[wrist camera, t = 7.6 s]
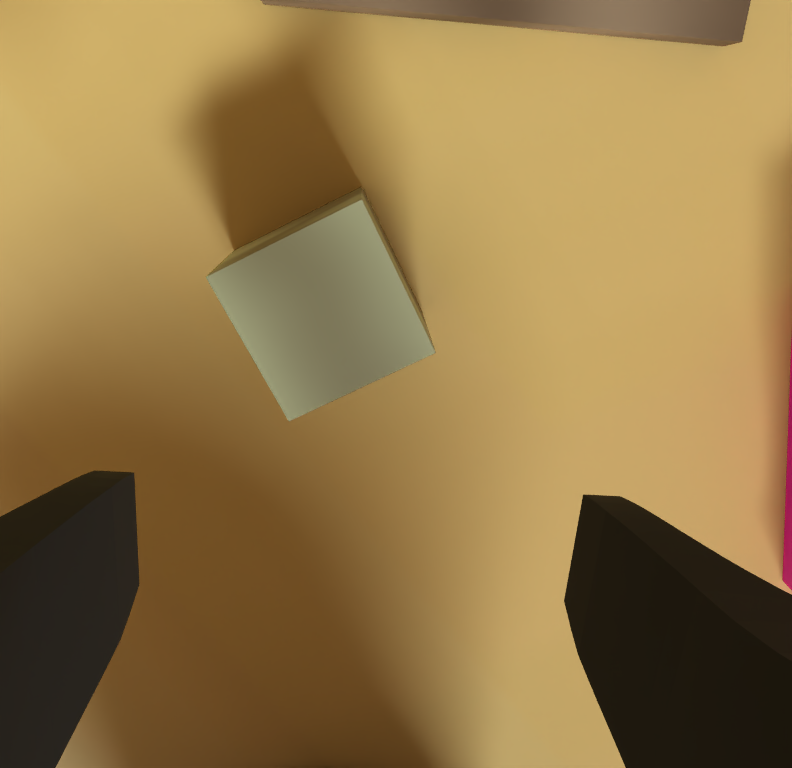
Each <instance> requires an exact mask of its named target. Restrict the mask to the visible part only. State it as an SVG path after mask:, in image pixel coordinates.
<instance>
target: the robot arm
mask: <svg viewBox="0 0 792 768" xmlns="http://www.w3.org/2000/svg"><path fill="white" fill-rule="evenodd" d="M138 587H139V568H138V546H137V524H136V503H135V481H134V473H131V472H110V471H93V472H90V473H87V474H84V475H82V476H80V477H78V478H76V479H73V480H71V481H69V482H67V483H65V484H63V485H61V486H59V487H57V488H55V489H53V490H51V491H50V492H48V493H46V494H44V495H42V496H40V497H38V498H36V499H34V500H32V501H30V502H28V503H26V504H24V505H22V506H20V507H18V508H17V509H15V510H13V511H11V512H9V513H7V514H5V515H3V516H1V517H0V768H55V767H56V765H57V763H58V761H59V759H60V758H61V756H62V754H63V752H64V750H65V748H66V746H67V744H68V742H69V740H70V738H71V736H72V734H73V732H74V730H75V728H76V726H77V724H78V722H79V720H80V719H81V717H82V715H83V713H84V711H85V709H86V707H87V705H88V703H89V701H90V699H91V697H92V695H93V693H94V691H95V689H96V687H97V685H98V683H99V681H100V680H101V678H102V676H103V674H104V672H105V670H106V668H107V666H108V664H109V662H110V660H111V658H112V656H113V654H114V652H115V650H116V647H117V645H118V643H119V641H120V639H121V636H122V634H123V631H124V628H125V625H126V623H127V620H128V617H129V614H130V611H131V608H132V605H133V602H134V599H135V596H136V593H137V590H138ZM564 602H565V606H566V610H567V614H568V618H569V623H570V627H571V631H572V634H573V638H574V641H575V645H576V648H577V652H578V655H579V658H580V660H581V663H582V665H583V668H584V670H585V673H586V675H587V677H588V680H589V682H590V685H591V687H592V689H593V692H594V694H595V697H596V699H597V701H598V704H599V706H600V708H601V711H602V713H603V715H604V718H605V720H606V722H607V725H608V727H609V729H610V732H611V734H612V736H613V739H614V741H615V743H616V746H617V748H618V750H619V753H620V755H621V757H622V760H623V762H624V764H625V767H626V768H792V595H791V594H789V593H787V592H785V591H783V590H781V589H779V588H777V587H776V586H774V585H772V584H770V583H768V582H766V581H765V580H763V579H761V578H759V577H757V576H756V575H754V574H752V573H750V572H748V571H746V570H745V569H743V568H741V567H739V566H738V565H736V564H734V563H733V562H731V561H729V560H727V559H726V558H724V557H722V556H721V555H719V554H717V553H716V552H714V551H712V550H711V549H709V548H707V547H706V546H704V545H702V544H701V543H699V542H698V541H696V540H694V539H693V538H691V537H689V536H688V535H686V534H685V533H683V532H681V531H680V530H678V529H677V528H675V527H673V526H672V525H670V524H669V523H667V522H665V521H664V520H662V519H660V518H659V517H657V516H656V515H654V514H652V513H651V512H649V511H647V510H645V509H644V508H642V507H640V506H638V505H637V504H635V503H633V502H631V501H629V500H627V499H625V498H622V497H620V496H601V495H583V499H582V505H581V510H580V516H579V521H578V527H577V532H576V538H575V543H574V549H573V555H572V560H571V566H570V571H569V577H568V582H567V588H566V594H565V599H564Z"/></svg>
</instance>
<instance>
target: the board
mask: <svg viewBox="0 0 792 768" xmlns="http://www.w3.org/2000/svg"><path fill="white" fill-rule="evenodd" d="M261 1H262V2H263V4H267V5H278V6H289V7H299V8H310V9H321V10H332V11H343V12H354V13H365V14H376V15H387V16H398V17H409V18H420V19H431V20H442V21H453V22H464V23H475V24H486V25H496V26H507V27H518V28H529V29H540V30H551V31H562V32H573V33H584V34H595V35H606V36H617V37H628V38H639V39H650V40H661V41H672V42H682V43H693V44H704V45H715V46H726V45H731V44H735V43H739V42H742V39H743V34H744V30H745V25H746V20H747V15H748V11H749V6H750V1H751V0H261Z"/></svg>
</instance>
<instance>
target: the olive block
mask: <svg viewBox="0 0 792 768" xmlns="http://www.w3.org/2000/svg"><path fill="white" fill-rule="evenodd" d="M206 278H207V280H208V282H209V284H210V285H211V287H212V289H213V291H214V292H215V294H216V296H217V298H218V299H219V301H220V303H221V304H222V306H223V308H224V310H225V311H226V313H227V315H228V317H229V318H230V320H231V322H232V324H233V325H234V327H235V329H236V331H237V332H238V334H239V336H240V337H241V339H242V341H243V343H244V344H245V346H246V348H247V350H248V351H249V353H250V355H251V357H252V358H253V360H254V362H255V363H256V365H257V367H258V369H259V370H260V372H261V374H262V376H263V377H264V379H265V381H266V383H267V384H268V386H269V388H270V390H271V391H272V393H273V395H274V396H275V398H276V400H277V402H278V403H279V405H280V407H281V409H282V410H283V412H284V414H285V416H286V417H287V419H288V421H291V420H293V419H295V418H297V417H300V416H302V415H304V414H306V413H308V412H310V411H312V410H315V409H317V408H319V407H321V406H323V405H325V404H327V403H329V402H332V401H334V400H336V399H338V398H340V397H342V396H344V395H347V394H349V393H351V392H353V391H355V390H357V389H359V388H362V387H364V386H366V385H368V384H370V383H372V382H374V381H376V380H379V379H381V378H383V377H385V376H387V375H389V374H391V373H394V372H396V371H398V370H400V369H402V368H404V367H406V366H408V365H411V364H413V363H415V362H417V361H419V360H421V359H423V358H426V357H428V356H430V355H432V354H434V353H436V352H435V349H434V346H433V343H432V340H431V337H430V334H429V331H428V328H427V325H426V322H425V319H424V316H423V313H422V311H421V309H420V307H419V305H418V303H417V301H416V298H415V296H414V294H413V292H412V290H411V288H410V286H409V284H408V282H407V280H406V278H405V276H404V273H403V271H402V269H401V267H400V265H399V263H398V261H397V259H396V257H395V255H394V253H393V250H392V248H391V246H390V244H389V242H388V240H387V238H386V236H385V234H384V232H383V230H382V227H381V225H380V223H379V221H378V219H377V217H376V215H375V213H374V211H373V209H372V207H371V204H370V202H369V200H368V198H367V196H366V194H365V192H364V190H363V188H362V187H360V188H358V189H356V190H354V191H352V192H350V193H348V194H346V195H344V196H342V197H340V198H338V199H336V200H334V201H332V202H330V203H328V204H326V205H324V206H322V207H320V208H318V209H316V210H314V211H312V212H310V213H308V214H306V215H304V216H302V217H300V218H298V219H296V220H294V221H292V222H290V223H288V224H286V225H284V226H282V227H280V228H278V229H276V230H274V231H272V232H270V233H268V234H266V235H264V236H262V237H260V238H258V239H256V240H254V241H252V242H250V243H248V244H246V245H244V246H242V247H240V248H238V249H236V250H234V251H233V252H232V253H231V254H230V255H229V256H228V257H227V258H226V259H225V260H224V261H223V262H221V263H220V264H219V265H218V266H217V267H216V268H215V269H214V270H213V271H212V272H211V273H210V274H209V275H208V276H207V277H206Z"/></svg>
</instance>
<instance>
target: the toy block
mask: <svg viewBox="0 0 792 768" xmlns="http://www.w3.org/2000/svg"><path fill="white" fill-rule="evenodd" d="M783 581H784V582H785V584H786V585H787V586H788V587H789V588H790V589H791V590H792V339H791V366H790V393H789V420H788V447H787V474H786V501H785V528H784V555H783Z"/></svg>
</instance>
